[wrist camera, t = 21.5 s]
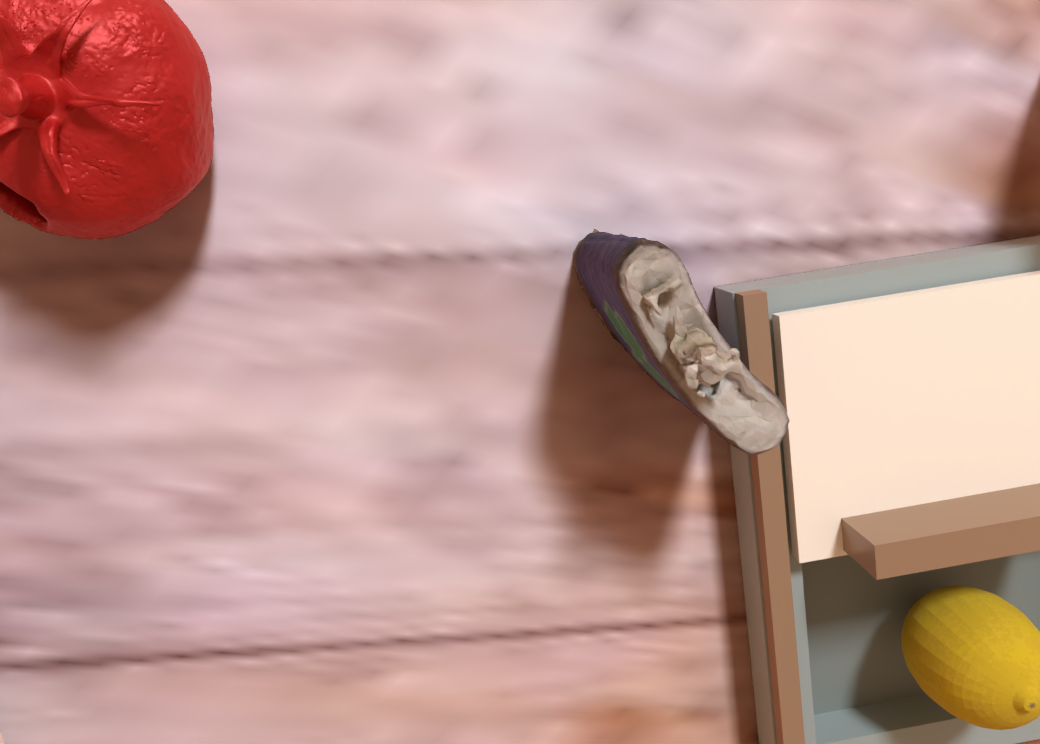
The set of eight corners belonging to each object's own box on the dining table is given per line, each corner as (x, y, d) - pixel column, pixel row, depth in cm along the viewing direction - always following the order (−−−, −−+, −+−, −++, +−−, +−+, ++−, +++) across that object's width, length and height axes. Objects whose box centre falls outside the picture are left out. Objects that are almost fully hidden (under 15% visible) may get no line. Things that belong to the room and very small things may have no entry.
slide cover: (792, 555, 39) (829, 594, 36) (771, 313, 37) (809, 327, 33) (1111, 499, 40) (1179, 530, 36) (1111, 259, 38) (1184, 266, 34)
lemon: (849, 626, 43) (940, 723, 35) (922, 538, 42) (1031, 617, 35) (929, 683, 44) (1035, 789, 36) (1002, 598, 44) (1125, 687, 36)
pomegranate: (184, -50, 35) (101, -140, 26) (267, 199, 37) (218, 196, 28) (-66, 16, 34) (-240, -53, 25) (32, 265, 36) (-95, 284, 27)
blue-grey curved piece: (725, 378, 40) (826, 444, 30) (674, 417, 40) (756, 497, 30) (606, 216, 38) (669, 225, 28) (553, 257, 38) (595, 283, 28)
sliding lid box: (760, 756, 44) (786, 804, 41) (713, 286, 39) (740, 296, 36) (1097, 691, 46) (1151, 732, 42) (1096, 226, 40) (1157, 229, 37)
